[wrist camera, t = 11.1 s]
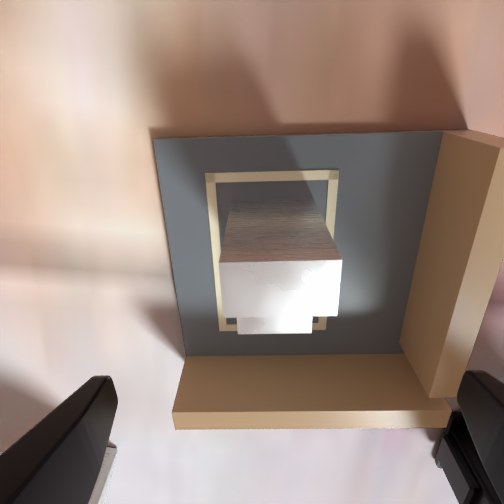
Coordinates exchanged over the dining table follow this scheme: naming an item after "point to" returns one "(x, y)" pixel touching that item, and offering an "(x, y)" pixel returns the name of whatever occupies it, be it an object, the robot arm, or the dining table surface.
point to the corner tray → (352, 275)
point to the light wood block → (278, 266)
